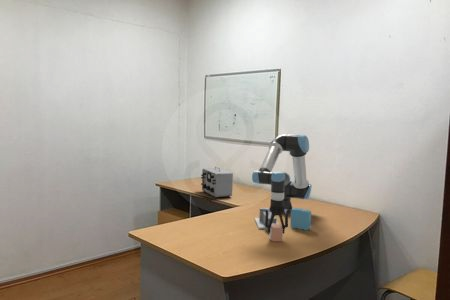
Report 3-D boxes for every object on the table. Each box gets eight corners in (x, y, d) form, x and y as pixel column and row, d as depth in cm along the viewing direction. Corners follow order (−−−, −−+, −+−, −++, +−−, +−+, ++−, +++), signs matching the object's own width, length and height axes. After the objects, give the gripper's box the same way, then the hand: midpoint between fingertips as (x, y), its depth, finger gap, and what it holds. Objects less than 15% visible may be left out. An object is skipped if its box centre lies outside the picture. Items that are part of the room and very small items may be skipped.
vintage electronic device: (200, 191, 313) (200, 165, 311) (217, 190, 320) (218, 164, 318) (213, 199, 284) (213, 170, 282) (232, 197, 292) (232, 169, 290)
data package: (310, 229, 210) (311, 210, 209) (308, 231, 206) (309, 212, 205) (292, 225, 217) (293, 207, 215) (290, 227, 213) (290, 209, 212)
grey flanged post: (274, 220, 228) (275, 206, 227) (282, 231, 204) (283, 216, 203) (254, 219, 227) (255, 206, 226) (259, 231, 203) (260, 215, 202)
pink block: (279, 236, 194) (279, 223, 193) (282, 241, 186) (282, 227, 186) (269, 236, 194) (269, 223, 193) (271, 241, 186) (272, 227, 185)
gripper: (291, 197, 192) (290, 236, 194) (260, 197, 191) (258, 236, 193) (295, 200, 184) (293, 241, 186) (262, 200, 183) (260, 241, 185)
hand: (275, 238), depth 190 cm, fingers closed on pink block, 6 cm apart
